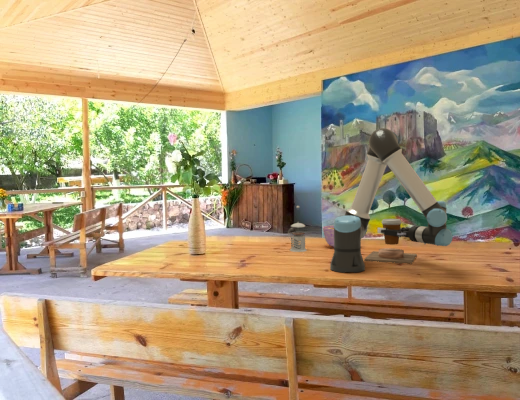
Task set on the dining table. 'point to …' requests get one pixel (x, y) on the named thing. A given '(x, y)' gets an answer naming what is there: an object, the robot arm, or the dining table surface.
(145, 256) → the dining table surface
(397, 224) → the disposable coffee cup
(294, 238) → the french press
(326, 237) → the bowl of food
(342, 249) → the robot arm
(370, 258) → the pedestal
